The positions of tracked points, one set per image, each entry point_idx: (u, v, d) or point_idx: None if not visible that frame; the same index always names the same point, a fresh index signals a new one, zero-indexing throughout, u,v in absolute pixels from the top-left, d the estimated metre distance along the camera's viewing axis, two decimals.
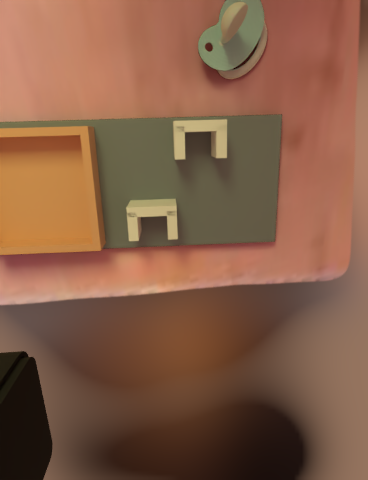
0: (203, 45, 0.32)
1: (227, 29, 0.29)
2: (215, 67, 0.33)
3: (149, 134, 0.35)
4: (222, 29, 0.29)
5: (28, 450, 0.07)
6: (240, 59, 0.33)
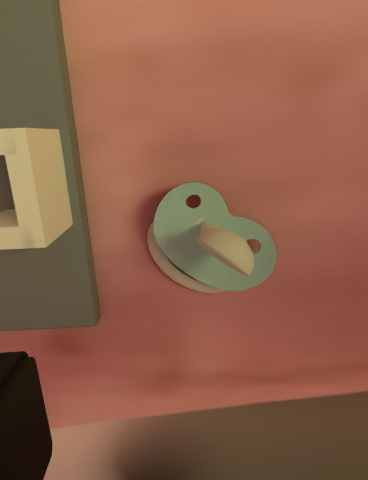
0: (195, 191, 0.18)
1: (208, 243, 0.15)
2: (157, 216, 0.18)
3: (27, 75, 0.16)
4: (209, 232, 0.15)
5: (28, 450, 0.07)
6: (175, 256, 0.19)
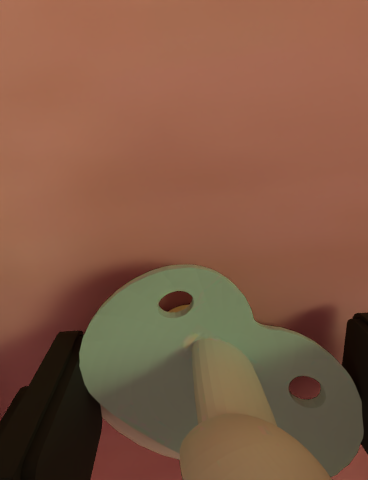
0: (179, 286, 0.07)
1: None
2: (87, 348, 0.07)
3: None
4: (222, 474, 0.05)
5: (88, 419, 0.08)
6: (137, 414, 0.09)
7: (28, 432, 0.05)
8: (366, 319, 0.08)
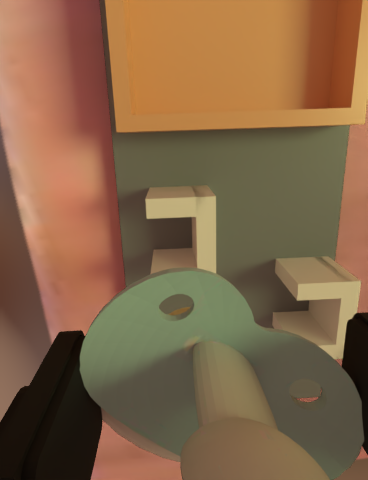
0: (179, 289, 0.07)
1: None
2: (88, 351, 0.07)
3: (314, 220, 0.21)
4: (223, 479, 0.05)
5: (88, 419, 0.08)
6: (137, 417, 0.09)
7: (28, 432, 0.05)
8: (366, 319, 0.08)
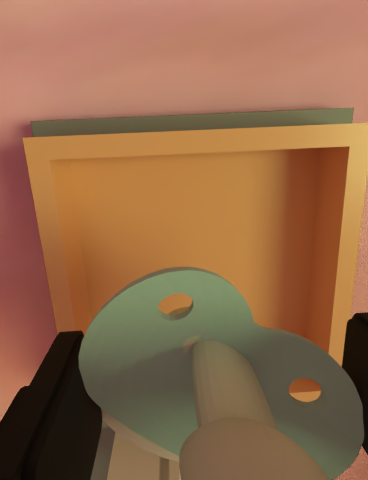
0: (178, 288, 0.07)
1: None
2: (87, 351, 0.07)
3: None
4: (222, 479, 0.05)
5: (88, 419, 0.08)
6: (137, 416, 0.09)
7: (28, 432, 0.05)
8: (366, 319, 0.08)
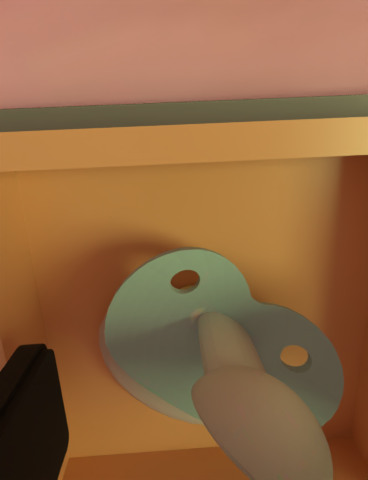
0: (188, 265, 0.09)
1: (223, 443, 0.06)
2: (112, 316, 0.09)
3: None
4: (226, 400, 0.06)
5: (49, 438, 0.07)
6: (150, 377, 0.10)
7: None
8: None
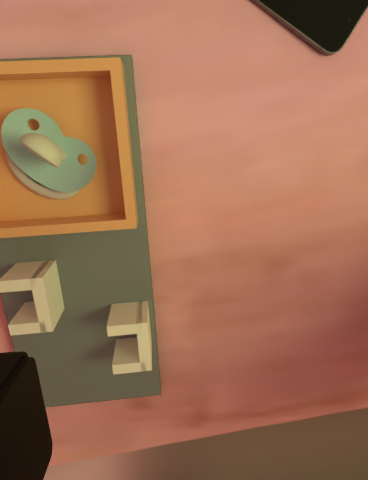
0: (32, 116, 0.25)
1: (20, 139, 0.22)
2: (3, 132, 0.25)
3: (133, 278, 0.32)
4: (25, 134, 0.22)
5: (28, 450, 0.07)
6: (25, 167, 0.26)
7: None
8: None
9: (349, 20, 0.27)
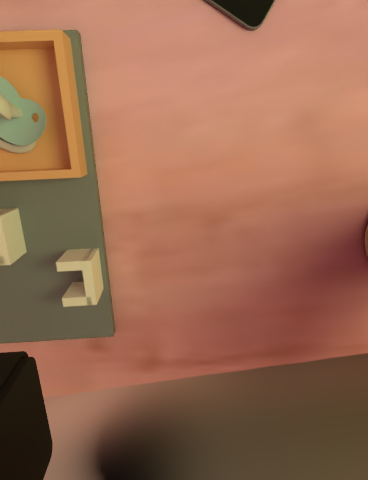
0: None
1: None
2: None
3: (85, 227, 0.37)
4: None
5: (28, 450, 0.07)
6: None
7: None
8: None
9: None
